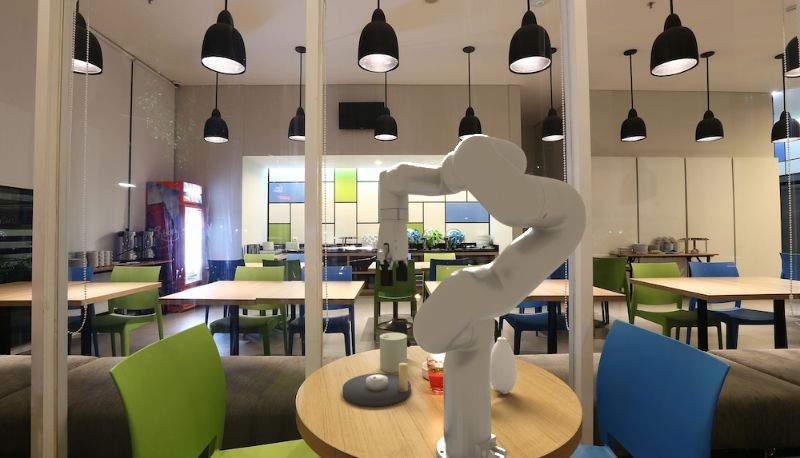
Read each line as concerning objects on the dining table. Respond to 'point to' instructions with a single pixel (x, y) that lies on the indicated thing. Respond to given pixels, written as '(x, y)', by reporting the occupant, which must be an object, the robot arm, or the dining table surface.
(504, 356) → the sauce bottle
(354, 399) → the wheel
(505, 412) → the dining table surface
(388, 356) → the can
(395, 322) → the scope
